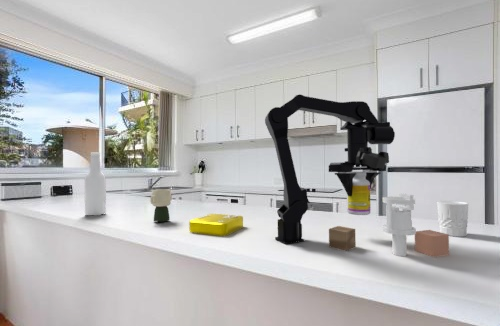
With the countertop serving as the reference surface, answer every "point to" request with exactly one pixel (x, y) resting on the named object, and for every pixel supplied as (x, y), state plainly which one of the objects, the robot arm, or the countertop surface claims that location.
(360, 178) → the supplement bottle
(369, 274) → the countertop surface
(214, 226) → the element tile
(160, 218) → the cream and green figurine
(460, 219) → the white cup
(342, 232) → the walnut block
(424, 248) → the terracotta block
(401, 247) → the white stepped column
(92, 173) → the alcohol
